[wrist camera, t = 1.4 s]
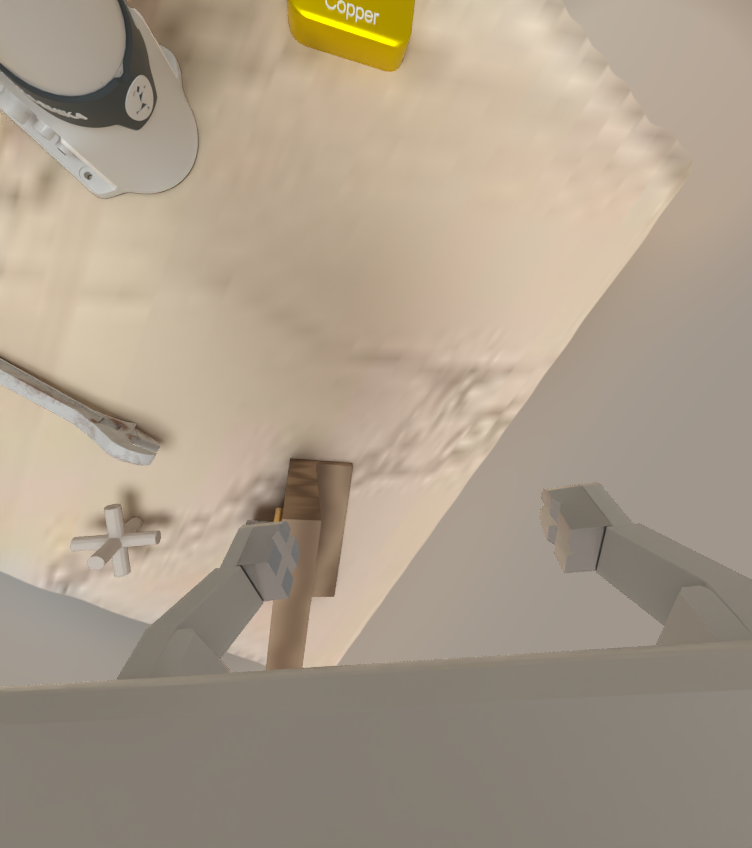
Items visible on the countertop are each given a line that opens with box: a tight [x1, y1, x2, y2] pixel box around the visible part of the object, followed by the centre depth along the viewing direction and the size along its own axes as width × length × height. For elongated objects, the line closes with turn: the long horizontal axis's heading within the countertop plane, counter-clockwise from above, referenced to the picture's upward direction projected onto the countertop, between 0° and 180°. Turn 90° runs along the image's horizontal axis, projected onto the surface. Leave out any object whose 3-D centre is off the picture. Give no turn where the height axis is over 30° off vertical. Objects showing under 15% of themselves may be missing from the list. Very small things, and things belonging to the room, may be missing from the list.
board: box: [266, 459, 353, 670], centre depth 47 cm, size 10×24×20 cm, turn 171°
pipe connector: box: [70, 504, 161, 577], centre depth 45 cm, size 10×10×10 cm
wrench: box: [0, 358, 160, 465], centre depth 42 cm, size 8×2×30 cm
